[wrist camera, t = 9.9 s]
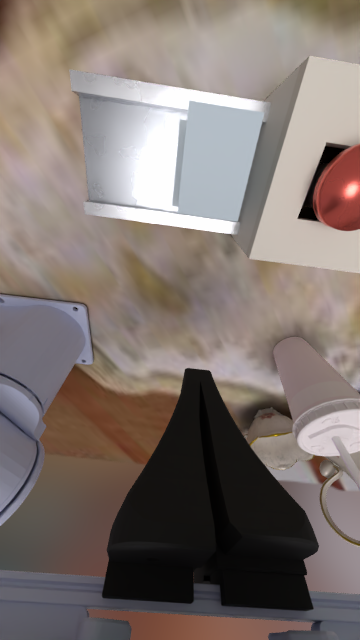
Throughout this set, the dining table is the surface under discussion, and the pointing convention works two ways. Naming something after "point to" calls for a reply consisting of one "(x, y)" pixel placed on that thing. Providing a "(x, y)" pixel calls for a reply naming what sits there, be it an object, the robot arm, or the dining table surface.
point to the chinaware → (294, 455)
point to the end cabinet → (301, 168)
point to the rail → (140, 147)
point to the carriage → (214, 159)
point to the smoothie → (319, 403)
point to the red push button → (337, 191)
